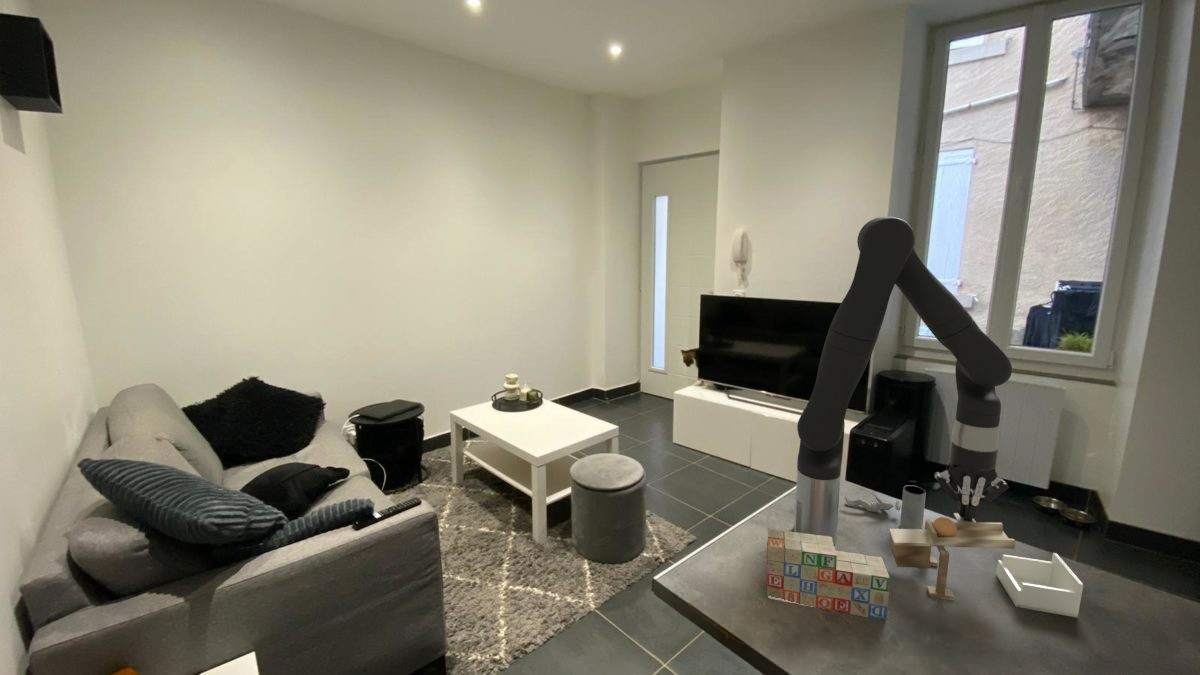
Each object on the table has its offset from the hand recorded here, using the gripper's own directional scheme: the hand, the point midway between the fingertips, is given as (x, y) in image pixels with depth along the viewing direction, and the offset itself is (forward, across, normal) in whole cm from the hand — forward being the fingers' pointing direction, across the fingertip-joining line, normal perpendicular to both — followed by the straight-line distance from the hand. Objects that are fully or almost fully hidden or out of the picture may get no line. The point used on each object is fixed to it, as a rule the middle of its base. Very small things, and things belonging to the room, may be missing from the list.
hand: (966, 518), depth 102 cm
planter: (+11, -7, +11) cm, 17 cm away
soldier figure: (+11, -15, +17) cm, 25 cm away
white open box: (+11, +10, -7) cm, 16 cm away
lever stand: (+11, -7, -7) cm, 15 cm away
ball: (-1, -6, -7) cm, 9 cm away
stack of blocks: (+11, -29, -20) cm, 37 cm away
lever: (+6, -4, -4) cm, 9 cm away
